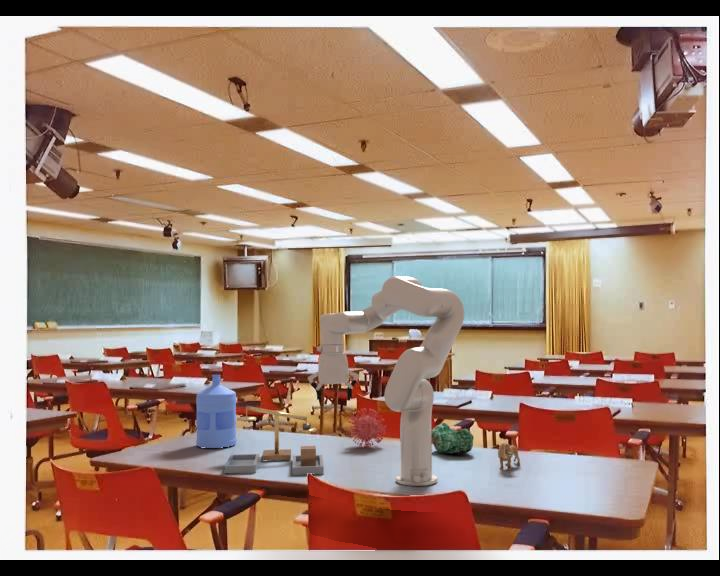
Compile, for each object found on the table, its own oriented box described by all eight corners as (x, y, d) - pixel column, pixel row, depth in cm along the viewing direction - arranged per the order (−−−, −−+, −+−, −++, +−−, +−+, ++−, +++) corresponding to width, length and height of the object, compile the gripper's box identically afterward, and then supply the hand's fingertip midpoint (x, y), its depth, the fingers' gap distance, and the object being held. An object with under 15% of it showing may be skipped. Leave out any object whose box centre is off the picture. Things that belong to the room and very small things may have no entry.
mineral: (418, 452, 245) (418, 425, 245) (445, 446, 256) (444, 420, 256) (459, 459, 232) (459, 431, 232) (485, 452, 243) (484, 425, 243)
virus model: (371, 442, 266) (371, 404, 267) (393, 447, 254) (393, 408, 255) (340, 446, 258) (340, 408, 259) (362, 452, 246) (361, 412, 247)
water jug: (201, 442, 271) (201, 373, 272) (239, 441, 271) (239, 373, 272) (191, 449, 255) (191, 376, 257) (232, 449, 255) (231, 376, 257)
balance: (316, 459, 235) (316, 405, 235) (235, 462, 232) (235, 407, 233) (316, 453, 245) (315, 402, 245) (238, 456, 242) (238, 404, 243)
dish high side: (255, 472, 216) (255, 465, 216) (224, 473, 215) (224, 466, 215) (259, 460, 234) (259, 453, 234) (230, 461, 233) (230, 454, 233)
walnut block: (316, 466, 219) (315, 448, 220) (300, 467, 219) (300, 449, 219) (315, 463, 224) (315, 445, 224) (300, 464, 224) (300, 446, 224)
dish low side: (323, 474, 213) (323, 466, 213) (292, 475, 212) (292, 467, 212) (322, 462, 231) (322, 454, 231) (293, 463, 230) (293, 455, 230)
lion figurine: (512, 472, 212) (511, 444, 212) (496, 471, 214) (495, 443, 214) (521, 463, 225) (521, 436, 225) (506, 462, 227) (505, 435, 228)
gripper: (307, 351, 219) (309, 403, 218) (358, 349, 221) (361, 400, 220) (306, 351, 227) (308, 401, 225) (356, 348, 228) (358, 398, 227)
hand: (334, 401), depth 223 cm, fingers open, 9 cm apart
